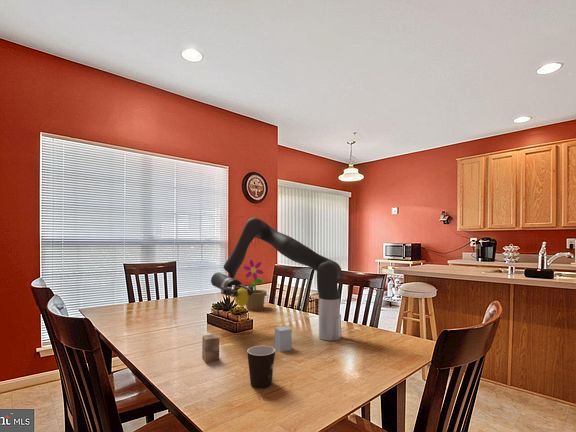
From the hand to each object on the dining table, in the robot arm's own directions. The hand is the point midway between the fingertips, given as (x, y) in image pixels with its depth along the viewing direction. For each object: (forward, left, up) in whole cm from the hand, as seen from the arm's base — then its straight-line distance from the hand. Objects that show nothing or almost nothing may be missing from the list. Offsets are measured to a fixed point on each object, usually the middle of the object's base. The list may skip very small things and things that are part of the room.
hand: (243, 293), depth 132 cm
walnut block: (+6, +14, -22) cm, 27 cm away
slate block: (-15, -5, -22) cm, 27 cm away
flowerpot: (+26, -63, -22) cm, 71 cm away
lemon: (+2, -2, -6) cm, 7 cm away
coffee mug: (-20, +24, -22) cm, 38 cm away
